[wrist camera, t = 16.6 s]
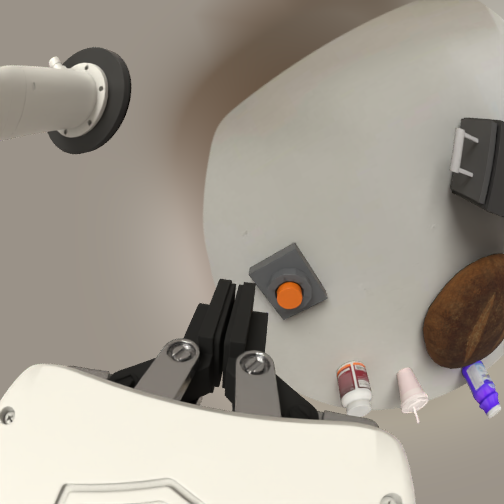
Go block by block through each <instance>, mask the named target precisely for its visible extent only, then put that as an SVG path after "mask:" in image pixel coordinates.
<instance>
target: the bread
mask: <svg viewBox="0 0 504 504" xmlns="http://www.w3.org/2000/svg"><path fill="white" fill-rule="evenodd" d="M423 333H424V340H425V344H426V349H427V351H428V354H429V356H430V357H431V358H432V359H433V361H434V362H435V363H437V364H438V365H440V366H442V367H446V368H450V369H452V368H461V367H465V366H468V365H471V364H473V363H475V362H477V361H479V360H481V359H483V358H485V357H486V356H488V355H489V354H491V353H492V352H493V351H494V350H495V349H496V348H497V347H498V346H499V344H500V343H501V342H502V341H503V339H504V254H493V255H490V256H487V257H483V258H481V259H479V260H477V261H475V262H473V263H471V264H469V265H468V266H466V267H465V268H464V269H462V270H461V271H460V272H458V273H457V274H456V275H455V276H454V277H453V278H452V279H451V280H450V281H449V282H448V283H447V284H446V285H445V287H444V288H443V289H442V291H441V292H440V293H439V294H438V296H437V297H436V299H435V300H434V302H433V303H432V304H431V306H430V308H429V310H428V312H427V315H426V317H425V320H424V326H423Z"/></svg>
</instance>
